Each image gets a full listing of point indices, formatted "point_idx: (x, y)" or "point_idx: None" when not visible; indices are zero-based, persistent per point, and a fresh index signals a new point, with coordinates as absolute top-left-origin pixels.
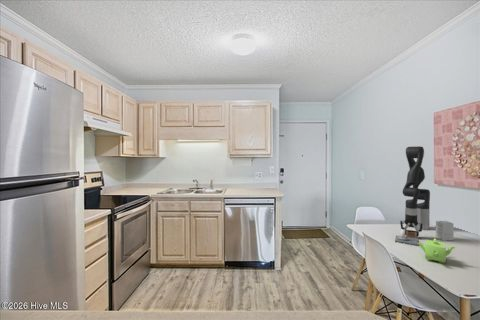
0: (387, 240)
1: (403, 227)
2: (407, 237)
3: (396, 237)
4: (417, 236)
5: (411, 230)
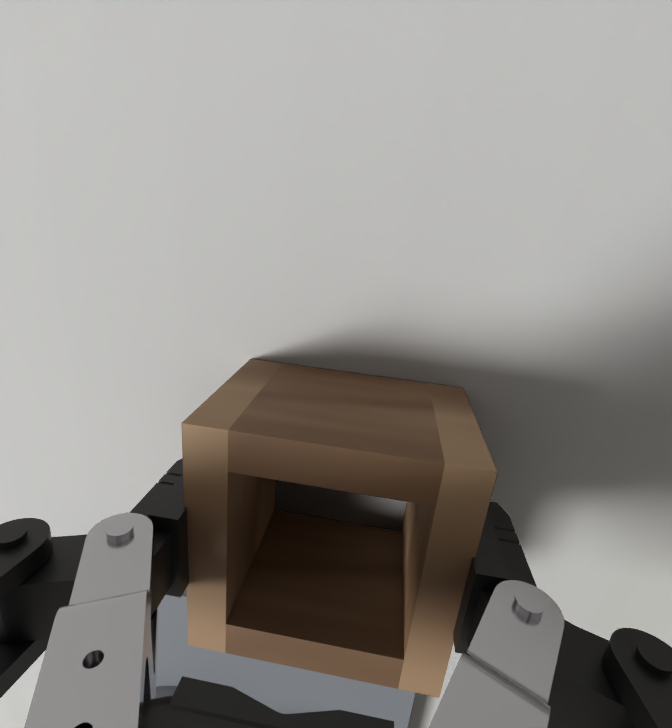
0: (22, 723)
1: (47, 595)
2: None
3: None
4: None
5: (340, 463)
